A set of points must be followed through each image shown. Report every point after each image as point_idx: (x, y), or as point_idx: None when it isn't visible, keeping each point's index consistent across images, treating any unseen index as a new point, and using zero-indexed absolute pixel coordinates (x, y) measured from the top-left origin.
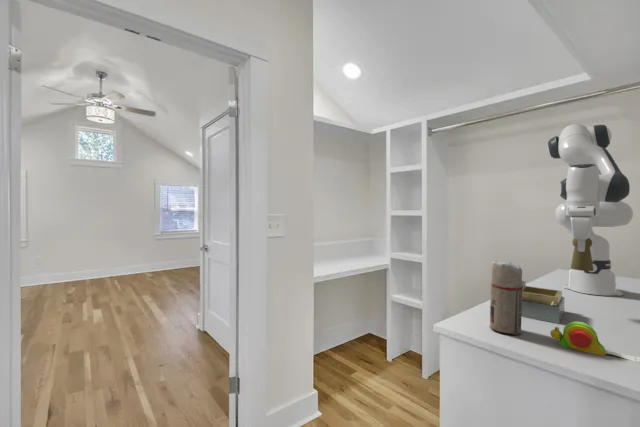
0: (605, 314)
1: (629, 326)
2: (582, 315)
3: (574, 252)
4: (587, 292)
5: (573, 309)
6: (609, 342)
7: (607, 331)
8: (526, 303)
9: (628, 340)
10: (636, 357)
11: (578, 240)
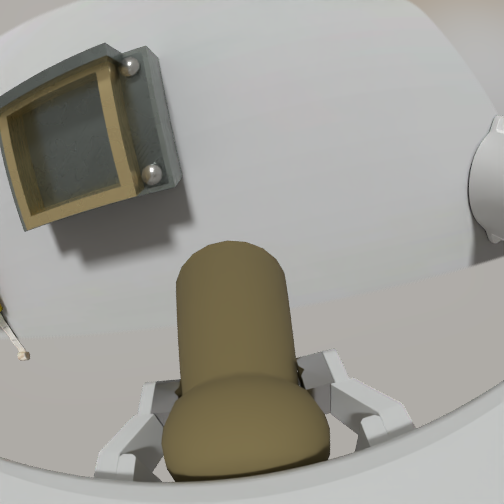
0: None
1: None
2: (184, 224)
3: (195, 338)
4: (472, 178)
5: (238, 186)
6: (39, 309)
7: (95, 296)
8: (3, 148)
9: (80, 328)
10: (17, 341)
11: (103, 465)
